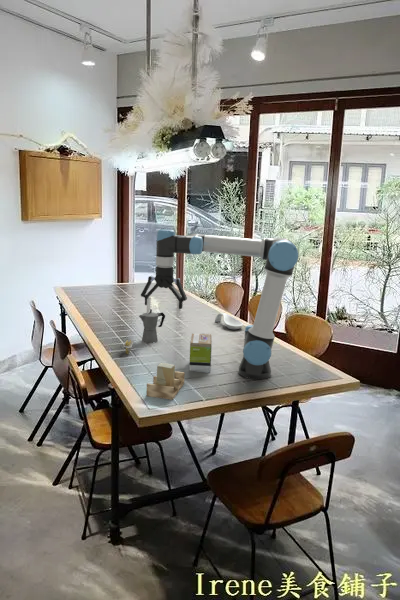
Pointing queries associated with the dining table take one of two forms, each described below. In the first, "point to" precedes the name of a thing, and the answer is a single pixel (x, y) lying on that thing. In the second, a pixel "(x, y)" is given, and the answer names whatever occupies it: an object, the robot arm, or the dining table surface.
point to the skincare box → (165, 374)
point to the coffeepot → (151, 326)
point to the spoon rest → (229, 321)
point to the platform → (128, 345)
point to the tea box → (200, 353)
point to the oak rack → (166, 387)
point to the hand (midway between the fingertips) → (163, 314)
